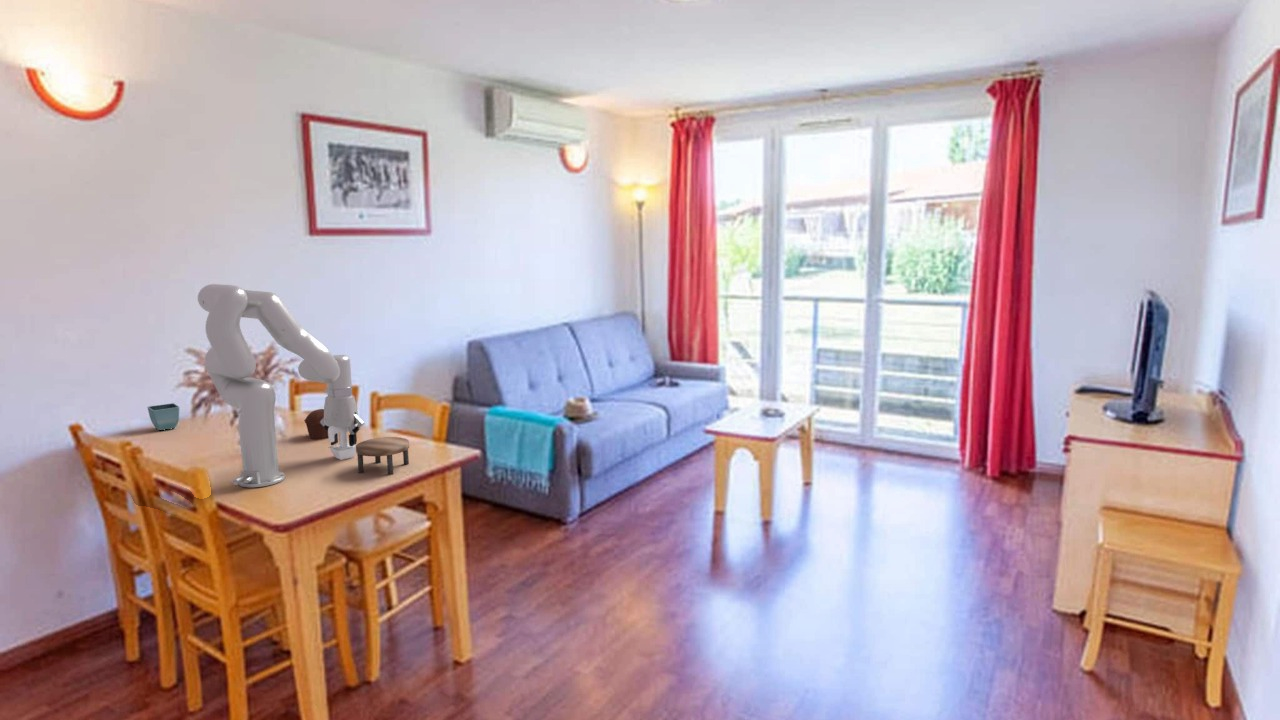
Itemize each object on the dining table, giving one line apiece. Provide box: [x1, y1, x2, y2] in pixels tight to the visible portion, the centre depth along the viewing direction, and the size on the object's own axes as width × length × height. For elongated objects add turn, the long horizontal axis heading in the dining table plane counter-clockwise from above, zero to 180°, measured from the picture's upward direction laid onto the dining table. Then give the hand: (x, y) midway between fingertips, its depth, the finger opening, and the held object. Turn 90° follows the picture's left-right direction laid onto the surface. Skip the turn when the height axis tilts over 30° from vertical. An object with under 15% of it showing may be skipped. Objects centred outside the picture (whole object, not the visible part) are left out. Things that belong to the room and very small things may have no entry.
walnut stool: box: [355, 436, 410, 476], centre depth 225 cm, size 16×16×8 cm
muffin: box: [303, 408, 329, 441], centre depth 261 cm, size 12×11×10 cm
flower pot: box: [147, 402, 180, 431], centre depth 270 cm, size 9×9×9 cm
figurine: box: [328, 423, 358, 461], centre depth 235 cm, size 7×9×15 cm
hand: (343, 444), depth 236 cm, fingers open, 6 cm apart
